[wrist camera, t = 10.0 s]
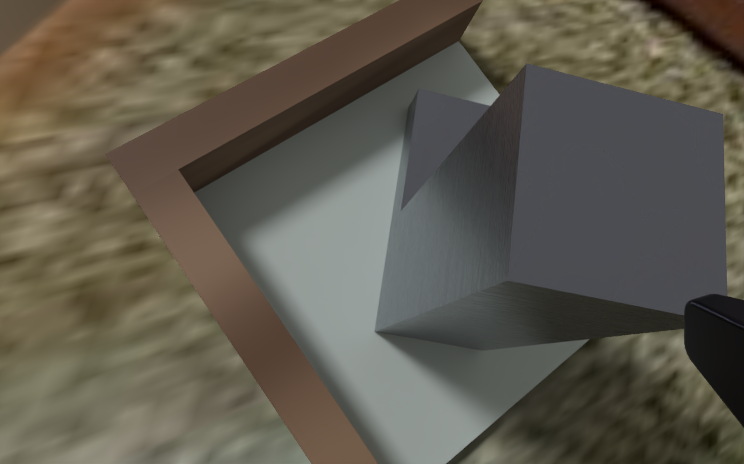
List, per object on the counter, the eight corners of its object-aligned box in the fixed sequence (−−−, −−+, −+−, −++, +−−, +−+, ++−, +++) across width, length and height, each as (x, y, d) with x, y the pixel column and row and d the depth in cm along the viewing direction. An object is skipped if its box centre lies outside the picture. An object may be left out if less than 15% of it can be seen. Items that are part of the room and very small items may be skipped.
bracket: (482, 350, 20) (727, 323, 9) (374, 331, 19) (507, 280, 9) (504, 129, 22) (717, -87, 12) (408, 107, 22) (544, -142, 11)
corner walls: (640, 290, 22) (696, 278, 19) (359, 533, 18) (377, 563, 15) (434, 18, 23) (458, -31, 21) (128, 186, 19) (105, 154, 16)
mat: (640, 290, 22) (647, 289, 22) (359, 533, 18) (361, 536, 18) (434, 18, 23) (437, 12, 23) (128, 186, 19) (125, 182, 19)
